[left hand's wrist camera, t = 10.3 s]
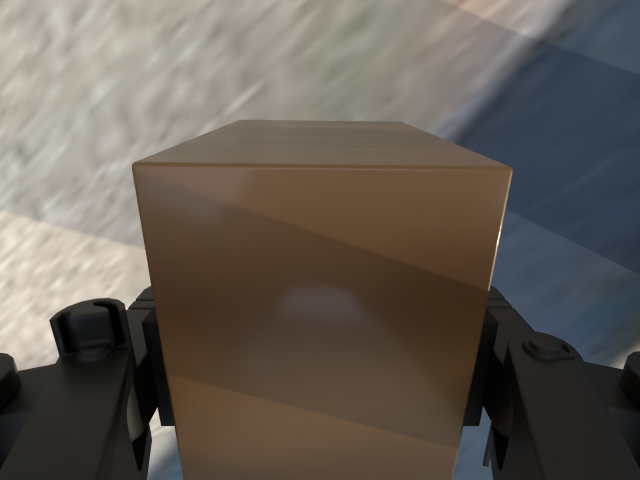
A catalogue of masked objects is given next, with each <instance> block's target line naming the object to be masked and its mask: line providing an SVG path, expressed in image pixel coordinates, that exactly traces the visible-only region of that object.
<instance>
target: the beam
mask: <svg viewBox="0 0 640 480" xmlns="http://www.w3.org/2000/svg"><path fill="white" fill-rule="evenodd" d="M132 171H133V177H134V183H135V189H136V195H137V201H138V207H139V213H140V219H141V225H142V232H143V238H144V244H145V250H146V256H147V262H148V268H149V274H150V280H151V286H152V292H153V298H154V304H155V310H156V316H157V322H158V328H159V334H160V340H161V346H162V352H163V359H164V365H165V371H166V377H167V383H168V389H169V395H170V401H171V407H172V413H173V419H174V425H175V431H176V437H177V443H178V449H179V455H180V461H181V467H182V473H183V479H184V480H453V475H454V470H455V465H456V460H457V455H458V450H459V445H460V440H461V434H462V429H463V424H464V419H465V414H466V409H467V404H468V399H469V393H470V388H471V383H472V378H473V373H474V368H475V363H476V358H477V353H478V347H479V342H480V337H481V332H482V327H483V322H484V317H485V312H486V307H487V301H488V296H489V291H490V286H491V281H492V276H493V271H494V266H495V261H496V255H497V250H498V245H499V240H500V235H501V230H502V225H503V220H504V215H505V209H506V204H507V199H508V194H509V189H510V184H511V179H512V174H513V170H512V168H511V167H509V166H507V165H505V164H502V163H500V162H497V161H495V160H492V159H490V158H487V157H485V156H483V155H480V154H478V153H475V152H473V151H470V150H468V149H466V148H463V147H461V146H458V145H456V144H453V143H451V142H449V141H446V140H444V139H441V138H439V137H436V136H434V135H432V134H429V133H427V132H424V131H422V130H419V129H417V128H415V127H412V126H410V125H407V124H405V123H402V122H360V121H282V120H239V121H236V122H234V123H231V124H229V125H226V126H224V127H221V128H219V129H216V130H214V131H211V132H209V133H206V134H204V135H201V136H199V137H196V138H194V139H191V140H189V141H186V142H184V143H181V144H179V145H177V146H174V147H172V148H169V149H167V150H164V151H162V152H159V153H157V154H154V155H152V156H149V157H147V158H144V159H142V160H139V161H137V162H134V163H133V164H132Z"/></svg>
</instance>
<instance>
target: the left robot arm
mask: <svg viewBox="0 0 640 480" xmlns="http://www.w3.org/2000/svg"><path fill="white" fill-rule="evenodd" d="M49 321H50V324H51V328H52V331H53V335H54V338H55V342H56V345H57V349H58V352H59V355H60V356H59V358H58V360H57V362H56V364H52V365H47V366H42V367H37V368H32V369H26V370H21V371H18V370H17V367H16V364H15V361H14V359H13V357H11V356H10V355H8V354H5V353H0V480H147V474H148V466H149V459H150V451H151V443H152V437H151V431H150V426H149V422H150V420H151V418H152V417H153V415H154V413H155V411H156V409H157V407H158V412H159V417H160V422H161V426H175V425H174V419H173V413H172V407H171V401H170V395H169V389H168V383H167V377H166V371H165V365H164V359H163V352H162V346H161V340H160V334H159V328H158V322H157V316H156V310H155V304H154V298H153V292H152V286H150V287H148V288H146V289H145V290H144V291H143V292H142V293H141V294H140V295H139V296H138V297H137V299H136V301H134V302H133V303H132V304H131V305H130V306H129V308H128V310H126V309H125V304H124V303H122V302H121V301H119V300H116V299H111V298H100V299H92V300H87V301H82V302H79V303H76V304H74V305H71V306H68V307H66V308H65V309H63V310H61V311H59V312H57V313H56V314H55V315H54V316H53V317H52V318H51V319H50V320H49ZM483 406H484V408H485V410H486V412H487V414H488V416H489V418H490V420H491V426H490V431H489V435H488V440H487V445H486V450H485V455H484V461H483V466H487V467H488V466H489V461H490V458H491V465H492V473H493V480H640V351H638V352H633V353H632V354H630V355H629V356H628V357H627V360H626V363H625V365H624V368H623V369H618V368H613V367H607V366H602V365H597V364H592V363H588V362H584V361H583V359H582V358H581V356H580V354H579V353H578V352H577V351H576V350H575V348H574V347H572V346H571V345H569V344H568V343H566V342H565V341H563V340H561V339H559V338H556V337H554V336H551V335H549V334H544V333H540V332H535V331H534V330H533V329H532V328H531V327H530V326H529V325H528V323H527V322H526V321H525V320H524V319H523V318H522V317H521V316H520V315H519V313H518V312H517V311H516V310H515V309H514V308H512V306H511V304H510V303H509V302H508V301H507V300H505V298H504V297H503V296H502V294H501V293H500V292H499V291H498V290H497V289H496V288H495V287H493V286H490V291H489V296H488V301H487V307H486V312H485V317H484V322H483V327H482V332H481V337H480V342H479V347H478V353H477V358H476V363H475V368H474V373H473V378H472V383H471V388H470V393H469V399H468V404H467V409H466V414H465V419H464V424H463V426H479V423H480V418H481V413H482V408H483Z"/></svg>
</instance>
